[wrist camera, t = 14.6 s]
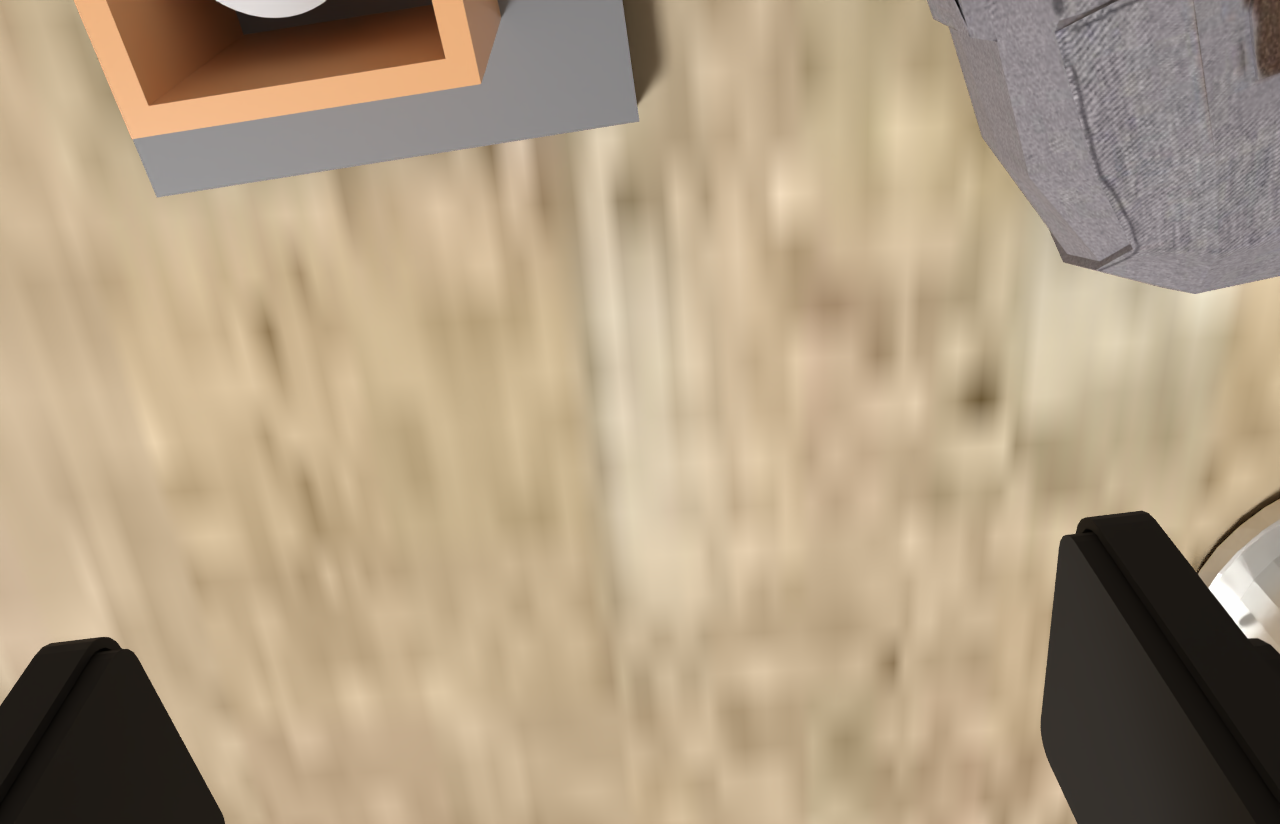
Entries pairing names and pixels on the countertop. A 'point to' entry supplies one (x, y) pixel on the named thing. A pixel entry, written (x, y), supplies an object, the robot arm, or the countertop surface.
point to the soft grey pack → (1135, 128)
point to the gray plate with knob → (418, 98)
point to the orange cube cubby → (277, 59)
